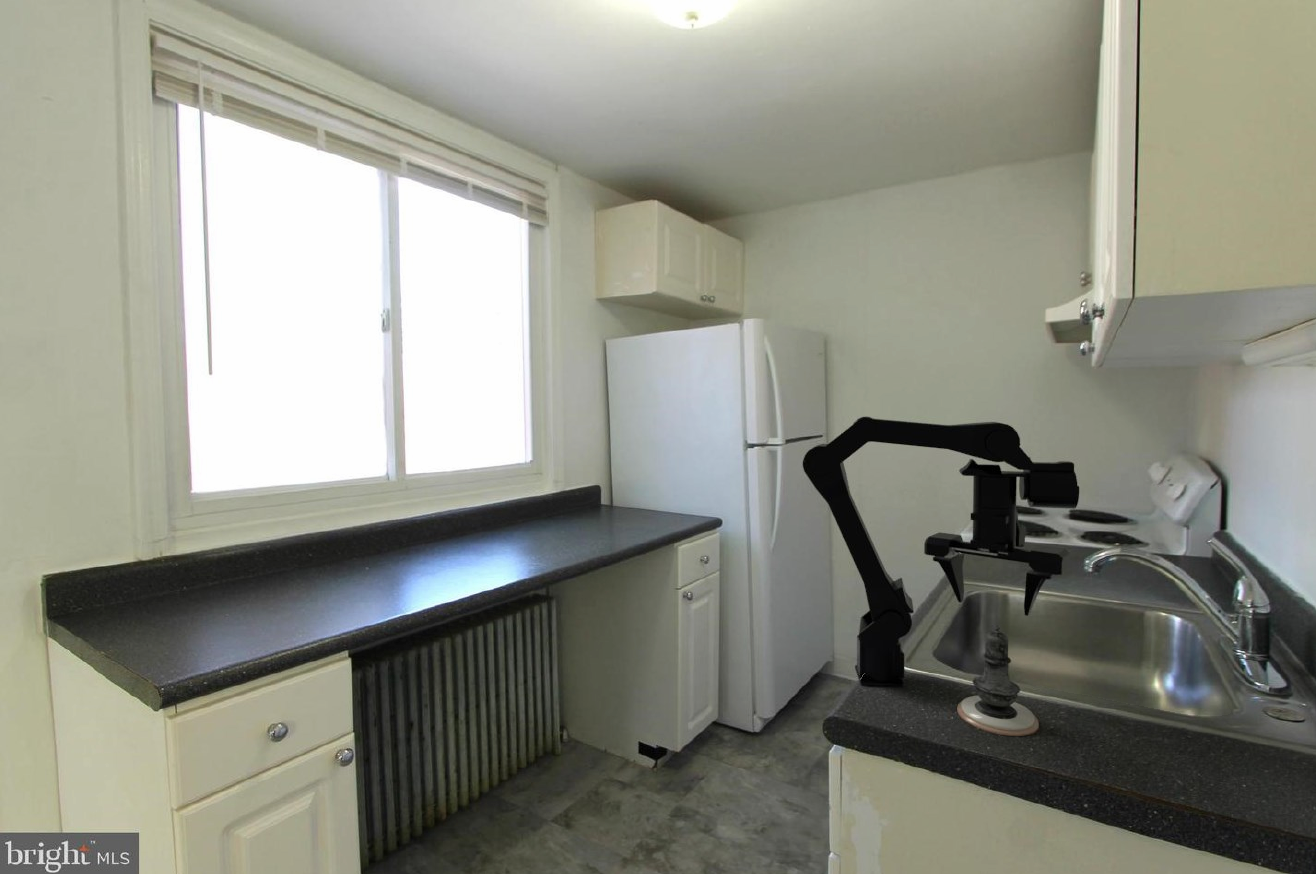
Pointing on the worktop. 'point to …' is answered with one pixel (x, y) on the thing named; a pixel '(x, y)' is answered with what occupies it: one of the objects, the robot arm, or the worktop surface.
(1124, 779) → the worktop surface
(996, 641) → the dark chess piece
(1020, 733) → the coaster
